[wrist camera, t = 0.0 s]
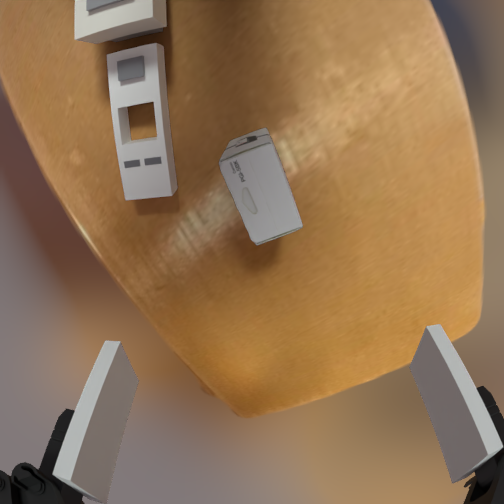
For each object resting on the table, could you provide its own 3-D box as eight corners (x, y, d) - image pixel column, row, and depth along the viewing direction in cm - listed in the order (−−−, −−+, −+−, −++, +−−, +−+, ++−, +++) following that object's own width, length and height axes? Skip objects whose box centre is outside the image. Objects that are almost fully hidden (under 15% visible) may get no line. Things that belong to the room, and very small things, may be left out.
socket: (117, 56, 29) (104, 54, 26) (163, 46, 28) (154, 42, 25) (133, 192, 37) (123, 202, 34) (177, 188, 37) (170, 197, 34)
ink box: (291, 190, 38) (306, 231, 27) (254, 203, 38) (254, 249, 28) (266, 125, 34) (272, 139, 23) (227, 139, 34) (215, 161, 24)
